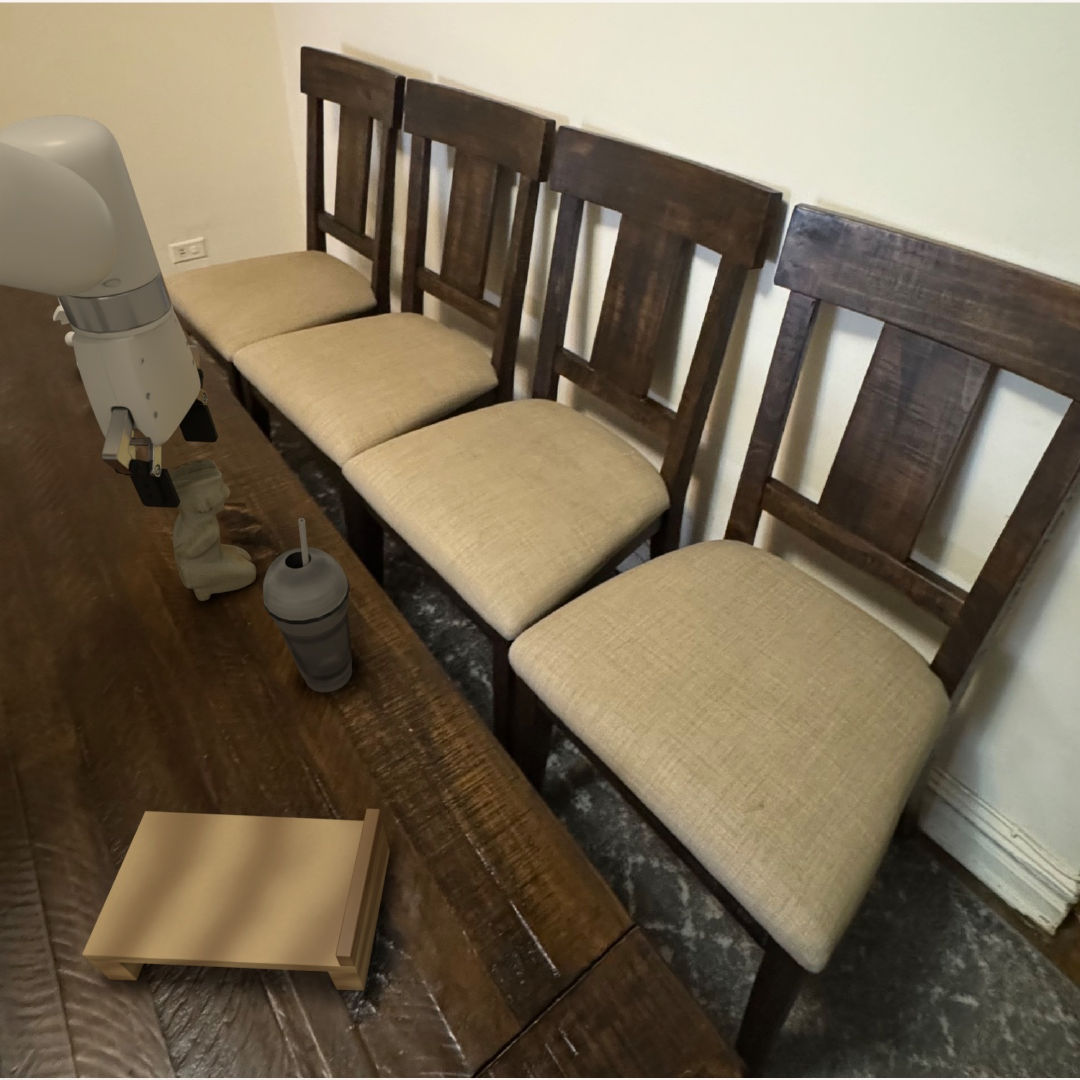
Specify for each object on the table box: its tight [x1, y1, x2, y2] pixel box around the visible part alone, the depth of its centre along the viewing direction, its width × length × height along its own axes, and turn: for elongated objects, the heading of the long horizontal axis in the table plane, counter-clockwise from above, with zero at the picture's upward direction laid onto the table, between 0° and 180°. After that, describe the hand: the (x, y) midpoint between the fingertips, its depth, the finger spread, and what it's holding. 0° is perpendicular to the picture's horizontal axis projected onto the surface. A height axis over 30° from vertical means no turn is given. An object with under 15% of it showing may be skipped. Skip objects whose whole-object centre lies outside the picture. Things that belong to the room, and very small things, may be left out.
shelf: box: [81, 808, 390, 992], centre depth 53 cm, size 18×10×7 cm, turn 88°
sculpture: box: [168, 458, 257, 602], centre depth 75 cm, size 6×7×15 cm
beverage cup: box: [262, 517, 353, 693], centre depth 65 cm, size 7×7×20 cm
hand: (183, 471), depth 70 cm, fingers open, 9 cm apart
